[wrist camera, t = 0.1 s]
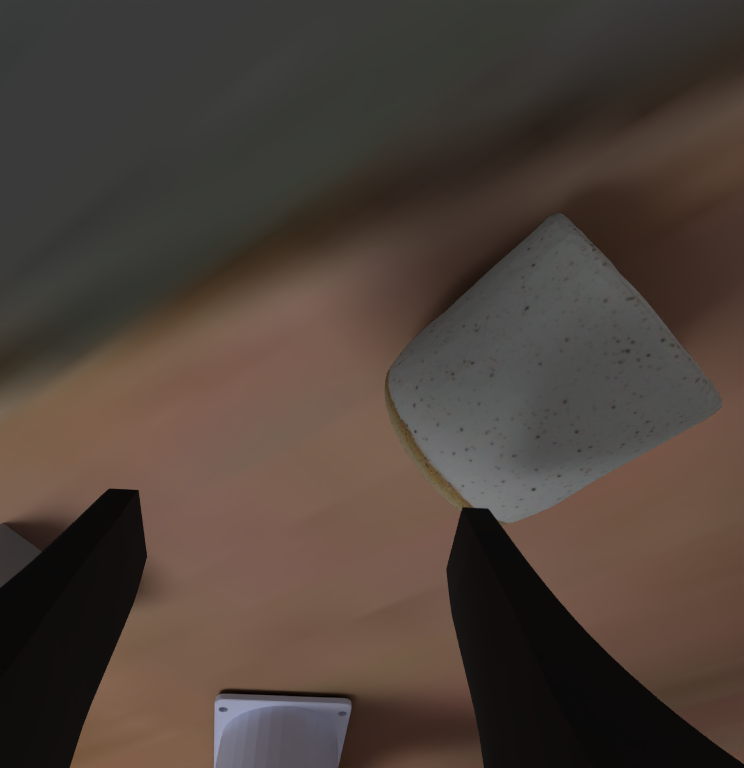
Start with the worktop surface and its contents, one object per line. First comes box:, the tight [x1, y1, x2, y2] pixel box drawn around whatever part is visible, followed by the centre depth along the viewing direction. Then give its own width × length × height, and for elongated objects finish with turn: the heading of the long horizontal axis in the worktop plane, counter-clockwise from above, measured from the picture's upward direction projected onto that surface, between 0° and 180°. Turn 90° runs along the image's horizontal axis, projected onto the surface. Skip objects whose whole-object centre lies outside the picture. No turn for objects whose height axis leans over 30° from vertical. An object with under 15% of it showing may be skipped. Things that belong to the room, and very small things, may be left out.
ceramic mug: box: [385, 213, 722, 525], centre depth 19 cm, size 11×8×8 cm
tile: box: [0, 523, 42, 587], centre depth 24 cm, size 2×6×6 cm, turn 32°
